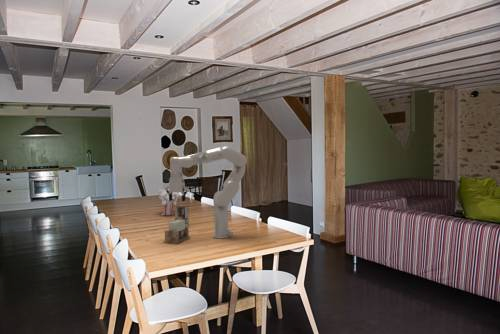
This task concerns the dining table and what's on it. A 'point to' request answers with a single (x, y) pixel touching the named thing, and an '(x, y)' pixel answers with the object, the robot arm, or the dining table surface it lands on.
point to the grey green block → (177, 225)
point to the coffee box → (182, 214)
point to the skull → (165, 201)
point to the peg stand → (176, 236)
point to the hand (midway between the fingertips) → (177, 200)
